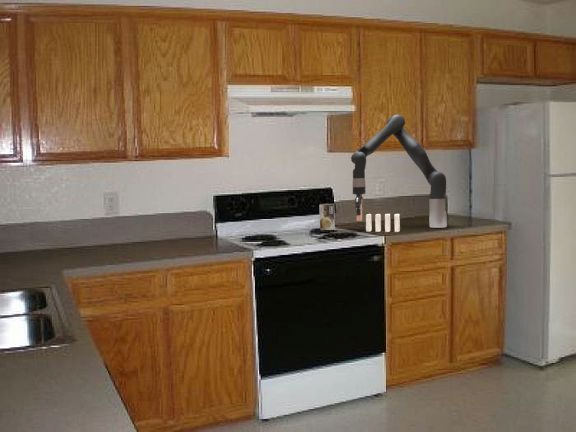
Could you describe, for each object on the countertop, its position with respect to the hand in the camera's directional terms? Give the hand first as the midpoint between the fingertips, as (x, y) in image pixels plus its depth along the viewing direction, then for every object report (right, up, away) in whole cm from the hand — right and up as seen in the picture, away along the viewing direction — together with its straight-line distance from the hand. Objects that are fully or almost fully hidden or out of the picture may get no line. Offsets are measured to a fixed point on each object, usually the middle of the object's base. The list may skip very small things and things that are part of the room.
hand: (359, 214), depth 356 cm
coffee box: (-18, -10, +12) cm, 24 cm away
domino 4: (+16, -10, -4) cm, 19 cm away
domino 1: (0, -3, 0) cm, 3 cm away
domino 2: (+6, -10, -1) cm, 11 cm away
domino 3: (+11, -10, -2) cm, 15 cm away
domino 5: (+21, -10, -6) cm, 24 cm away
